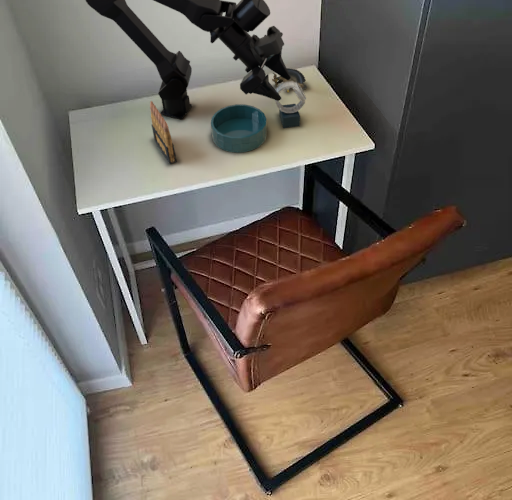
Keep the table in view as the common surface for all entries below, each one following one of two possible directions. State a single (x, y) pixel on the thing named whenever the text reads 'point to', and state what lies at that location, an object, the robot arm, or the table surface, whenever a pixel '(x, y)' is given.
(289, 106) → the watch
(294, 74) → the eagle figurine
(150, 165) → the table surface
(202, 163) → the table surface
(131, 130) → the table surface
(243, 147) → the bowl
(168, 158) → the ammunition clip
